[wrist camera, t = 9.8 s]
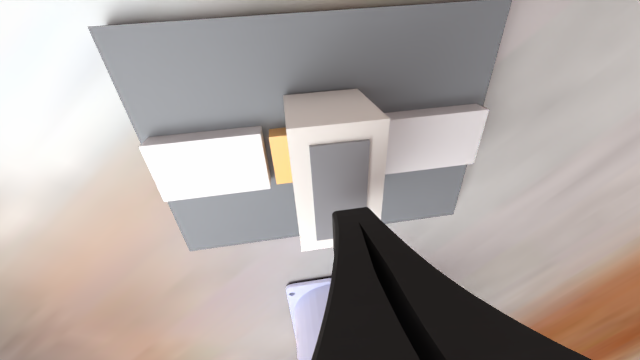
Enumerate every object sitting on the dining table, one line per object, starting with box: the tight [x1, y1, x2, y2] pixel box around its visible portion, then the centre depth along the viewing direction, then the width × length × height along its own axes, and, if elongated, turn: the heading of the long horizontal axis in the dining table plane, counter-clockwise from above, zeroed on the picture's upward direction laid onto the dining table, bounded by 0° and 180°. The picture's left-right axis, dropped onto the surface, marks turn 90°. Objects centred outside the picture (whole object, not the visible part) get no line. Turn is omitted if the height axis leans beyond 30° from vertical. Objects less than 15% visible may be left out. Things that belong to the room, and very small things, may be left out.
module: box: [283, 89, 390, 252], centre depth 14 cm, size 6×4×5 cm, turn 3°
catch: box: [269, 127, 293, 184], centre depth 16 cm, size 3×6×1 cm, turn 93°
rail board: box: [88, 0, 512, 251], centre depth 16 cm, size 14×20×3 cm
